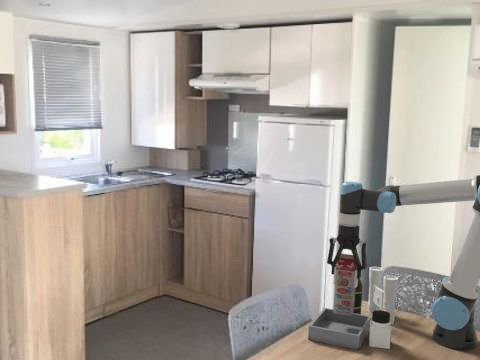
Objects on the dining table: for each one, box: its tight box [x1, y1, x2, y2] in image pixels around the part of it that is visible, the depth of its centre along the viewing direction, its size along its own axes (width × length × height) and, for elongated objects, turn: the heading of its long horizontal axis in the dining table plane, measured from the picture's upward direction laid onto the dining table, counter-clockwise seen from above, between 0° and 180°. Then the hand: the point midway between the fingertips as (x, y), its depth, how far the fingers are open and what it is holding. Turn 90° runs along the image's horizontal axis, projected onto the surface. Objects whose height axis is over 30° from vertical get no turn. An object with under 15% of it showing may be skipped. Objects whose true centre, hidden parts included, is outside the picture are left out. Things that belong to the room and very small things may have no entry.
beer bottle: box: [353, 278, 363, 315], centre depth 217 cm, size 8×8×24 cm
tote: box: [307, 307, 372, 351], centre depth 200 cm, size 18×20×5 cm
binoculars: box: [367, 266, 399, 325], centre depth 218 cm, size 17×5×18 cm, turn 14°
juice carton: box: [333, 253, 357, 316], centre depth 203 cm, size 7×7×22 cm
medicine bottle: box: [368, 309, 392, 350], centre depth 192 cm, size 7×7×12 cm
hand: (345, 284), depth 202 cm, fingers closed on juice carton, 7 cm apart
